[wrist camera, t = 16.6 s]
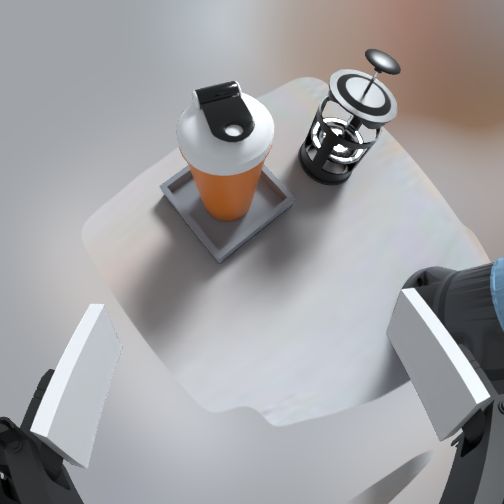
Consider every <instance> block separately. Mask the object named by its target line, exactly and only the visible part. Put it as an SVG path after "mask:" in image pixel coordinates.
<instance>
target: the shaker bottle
mask: <svg viewBox="0 0 504 504" xmlns="http://www.w3.org/2000/svg"><path fill="white" fill-rule="evenodd" d="M192 99H193V103H192V104H191V105H190V106H188V108H187V109H186V110H185V111H184V112H183V113H182V115H181V117H180V118H179V121H178V124H177V131H176V134H177V140H178V143H179V148H180V151H181V153H182V156H183V157H184V159H185V160H186V161H187V163H188V165H189V168H190V171H191V173H192V176H193V179H194V181H195V184H196V186H197V189H198V192H199V194H200V197H201V199H202V202H203V205H204V207H205V209H206V211H207V212H208V214H210V215H211V216H212V217H213V218H215V219H217V220H220V221H234V220H237V219H239V218H241V217H243V216H244V215H245V214H246V213H247V212H248V210H249V209H250V206H251V204H252V200H253V197H254V194H255V190H256V187H257V184H258V180H259V177H260V174H261V170H262V167H263V164H264V161H265V158H266V157H267V155H268V154H269V152H270V149H271V147H272V140H273V136H274V122H273V119H272V117H271V115H270V113H269V112H268V110H267V109H266V108H265V107H264V106H263V105H262V104H261V103H260V102H259V101H257V100H256V99H254V98H252V97H251V96H249V95H246V94H244V93H242V92H241V88H240V85H239V83H238V82H237V81H231V82H227V83H222V84H218V85H213V86H209V87H205V88H201V89H197V90H195V91H193V93H192Z"/></svg>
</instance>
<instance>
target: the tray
mask: <svg viewBox="0 0 504 504" xmlns="http://www.w3.org/2000/svg"><path fill="white" fill-rule="evenodd" d="M160 188H161V190H162V192H163V194H164V195H165V197H166V198H167V199H168V200H169V202H170V203H171V204H172V206H173V207H174V208H175V209H176V211H177V212H178V213H179V214H180V216H181V217H182V218H183V219H184V221H185V222H186V223H187V224H188V226H189V227H190V228H191V229H192V231H193V232H194V233H195V234H196V236H197V237H198V238H199V239H200V241H201V242H202V243H203V244H204V246H205V247H206V248H207V249H208V251H209V252H210V253H211V254H212V255H213V257H214V258H215V259H216V260H217V262H218V263H219V264H220V263H221V262H222V261H224V260H225V259H226V258H227V257H228V256H230V255H231V254H232V253H233V252H235V251H236V250H237V249H238V248H240V247H241V246H242V245H243V244H245V243H246V242H247V241H248V240H250V239H251V238H252V237H253V236H255V235H256V234H257V233H258V232H260V231H261V230H262V229H263V228H265V227H266V226H267V225H268V224H270V223H271V222H272V221H273V220H275V219H276V218H277V217H278V216H280V215H281V214H282V213H283V212H285V211H286V210H287V209H289V208H290V207H291V206H292V204H293V202H294V201H295V199H296V198H295V197H294V196H293V195H292V194H291V193H290V192H289V191H288V189H287V188H286V187H285V186H284V185H283V184H282V183H281V182H280V181H279V180H278V179H277V178H276V177H275V176H274V175H273V174H272V173H271V172H270V170H269V169H268V168H267V167H266V166H265V165H264V164H263V167H262V170H261V174H260V177H259V180H258V184H257V187H256V190H255V194H254V197H253V200H252V204H251V206H250V209H249V210H248V212H247V213H246V214H245V215H244V216H243V217H241V218H239V219H237V220H234V221H220V220H217V219H215V218H213V217H212V216H211V215H210V214H208V212H207V211H206V209H205V207H204V205H203V202H202V199H201V197H200V194H199V192H198V189H197V186H196V184H195V181H194V179H193V176H192V173H191V171H190V168H189V165H188V166H187V167H185V168H184V169H182V170H181V171H180V172H178V173H177V174H175V175H174V176H173V177H171V178H170V179H169V180H167V181H166V182H165V183H163V184H162V185H161V186H160Z"/></svg>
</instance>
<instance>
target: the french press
mask: <svg viewBox="0 0 504 504" xmlns="http://www.w3.org/2000/svg"><path fill="white" fill-rule="evenodd" d="M365 56H366V58H367V60H368V61H369V62H370V63H371V64H372V65H373V66H375V68H374V69H375V71H376V72H375V74H374V75H373V77H372V76H370V75H368V74H366V73H363V72H361V71H357V70H350V69H344V70H339V71H337V72H335V73H334V74H333V75H332V76H331V78H330V80H329V89H330V90H329V94H328V95H327V96H326V97H324V98H323V99H322V101H321V103H320V105H319V107H318V110H317V113H316V115H315V118H314V120H313V123H312V125H311V128H310V130H309V133H308V135H307V137H306V139H305V142H304V143H303V144H302V146H301V148H300V151H299V160H300V164H301V166H302V168H303V170H304V171H305V172H306V174H307V175H308V176H310V177H311V178H312V179H314V180H315V181H317V182H319V183H322V184H325V185H337V184H341V183H343V182H345V181H346V180H347V179H348V178H349V177H350V175H351V173H352V171H353V170H354V168H355V167H356V166H357V165H358V163H359V162H360V161H361V160H362V158H363V157H364V156H365V155H366V153H367V152H368V151H369V150H370V148H371V147H372V146H373V145H374V143H375V142H376V141H377V139H378V138H379V136H380V135H381V131H382V129H381V127H382V126H383V125H385V123H388V122H390V121H391V120H393V119H394V118H395V116H396V114H397V103H396V100H395V98H394V96H393V95H392V93H391V92H390V91H389V89H388V88H387V87H386V86H385V85H383V84H382V83H381V82H380V81H379V80H377V79H376V76H377V75H378V73H382V71H383V72H385V73H388V74H392V75H396V74H399V73H400V70H401V69H400V66H399V64H398V63H397V62H396V61H395V60H394V59H393V58H392V57H390V56H389V55H388V54H386V53H384V52H382V51H379V50H376V49H368V50H367V51H366V52H365ZM330 100H331V101H333V102H336V103H338V104H339V105H340V106H341V107H343V108H344V109H345V110H346V111H347V112H349V113H350V114H351V116H350V118H349V119H348V121H347V122H346V121H344V120H341V119H338V118H332V117H328V118H323V117H322V115H321V114H322V112H323V109H324V107H325V105H326V103H327V101H330ZM362 124H363V125H364V126H366V127H367V128H369V129H376V139H375V140H374V141H371V142H368V143H364V141H363V139H362V137H361V135H360V133H359V132H358V129H359V128H360V126H361V125H362ZM312 145H314V147H315V148H316V150H317V153H316V155H315V157H314V159H313V161H312V160H311V159H310V157H309V155H308V153H307V152H308V149H309V148H310V147H311V146H312ZM367 148H368V149H367ZM364 149H367V150H366V151H365V153H364ZM363 153H364V154H363ZM327 160H329V161H331V162H334V163H338V164H346V168H345V170H344V172H343V173H342V174H335V173H330V172H327V171H325V170H323V169H322V167H323V166H324V164H325V162H326V161H327Z"/></svg>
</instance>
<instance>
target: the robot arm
mask: <svg viewBox="0 0 504 504" xmlns="http://www.w3.org/2000/svg"><path fill="white" fill-rule="evenodd" d="M386 334H387V336H388V338H389V340H390V342H391V343H392V345H393V347H394V349H395V351H396V353H397V354H398V356H399V358H400V360H401V362H402V364H403V366H404V368H405V369H406V371H407V373H408V375H409V377H410V379H411V381H412V383H413V385H414V387H415V389H416V391H417V393H418V395H419V397H420V399H421V401H422V403H423V405H424V407H425V410H426V412H427V414H428V416H429V418H430V420H431V423H432V425H433V427H434V429H435V431H436V434H437V436H438V438H439V441H443V440H445V439H447V438H449V437H451V436H453V435H454V434H455V433H456V432H457V431H458V430H459V429H460V428H462V430H463V432H462V433H461V434H460V435H459V436H458V437H457V438H456V439H455V440H454V441H453V442H452V443H451V446H453V445H454V444H456V443H457V442H458V441H459V442H458V444H457V445H456V446H455V447H457V450H456V454H455V458H454V462H453V465H452V468H451V472H450V475H449V478H448V481H447V484H446V487H445V489H444V492H443V495H442V498H441V500H440V502H439V504H504V257H502V258H500V259H498V260H496V261H495V262H493V263H489V264H485V265H482V266H478V267H474V268H470V269H465V270H462V271H455V270H451V269H447V268H443V267H429V268H426V269H422V270H419V271H417V272H416V273H414V274H413V275H412V276H411V277H410V278H409V279H408V280H407V282H406V283H405V285H404V286H403V288H402V289H401V291H400V294H399V297H398V300H397V303H396V306H395V309H394V312H393V315H392V318H391V321H390V324H389V326H388V329H387V332H386ZM121 351H122V346H121V343H120V341H119V339H118V337H117V334H116V332H115V329H114V327H113V324H112V322H111V320H110V317H109V314H108V312H107V309H106V306H105V305H104V304H90V306H89V308H88V309H87V311H86V313H85V314H84V316H83V318H82V320H81V322H80V323H79V325H78V327H77V329H76V331H75V332H74V334H73V336H72V338H71V340H70V342H69V344H68V346H67V348H66V350H65V352H64V354H63V356H62V358H61V360H60V362H59V364H58V366H57V368H56V370H52V369H49V370H48V371H47V372H46V373H45V375H44V376H43V377H42V378H41V380H40V382H39V384H38V386H37V390H36V391H35V393H34V395H33V396H34V398H32V400H31V402H30V404H29V407H28V409H27V412H26V414H25V417H24V419H23V422H22V424H21V426H20V428H18V427H17V426H16V425H15V424H14V423H13V422H12V421H11V420H10V419H9V418H7V417H0V472H1V473H3V474H4V479H2V478H1V475H0V504H84V503H83V501H82V499H81V498H80V496H79V494H78V492H77V490H76V488H75V486H74V484H73V483H72V480H71V478H70V476H69V474H68V472H67V470H66V468H65V467H64V465H63V464H62V462H63V459H65V460H66V461H68V462H69V463H70V464H72V465H75V466H78V467H82V468H85V469H88V464H89V460H90V456H91V451H92V447H93V443H94V439H95V435H96V432H97V428H98V424H99V420H100V417H101V413H102V410H103V406H104V403H105V400H106V397H107V393H108V390H109V387H110V384H111V381H112V377H113V374H114V372H115V369H116V366H117V363H118V360H119V357H120V354H121Z"/></svg>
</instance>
